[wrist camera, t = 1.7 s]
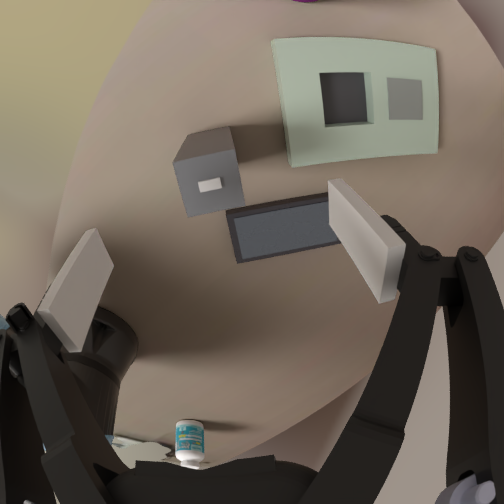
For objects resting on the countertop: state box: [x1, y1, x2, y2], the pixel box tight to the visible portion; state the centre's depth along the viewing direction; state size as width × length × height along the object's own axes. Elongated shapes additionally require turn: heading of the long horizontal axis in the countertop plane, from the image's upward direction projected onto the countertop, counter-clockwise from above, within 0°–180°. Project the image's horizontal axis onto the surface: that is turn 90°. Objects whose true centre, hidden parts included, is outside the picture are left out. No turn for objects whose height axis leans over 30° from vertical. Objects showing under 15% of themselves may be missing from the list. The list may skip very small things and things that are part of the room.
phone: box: [226, 192, 341, 264], centre depth 35 cm, size 14×7×1 cm, turn 99°
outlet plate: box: [271, 37, 439, 168], centre depth 26 cm, size 20×14×2 cm
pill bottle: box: [176, 420, 204, 469], centre depth 60 cm, size 8×7×14 cm
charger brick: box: [173, 126, 246, 217], centre depth 25 cm, size 4×4×11 cm
